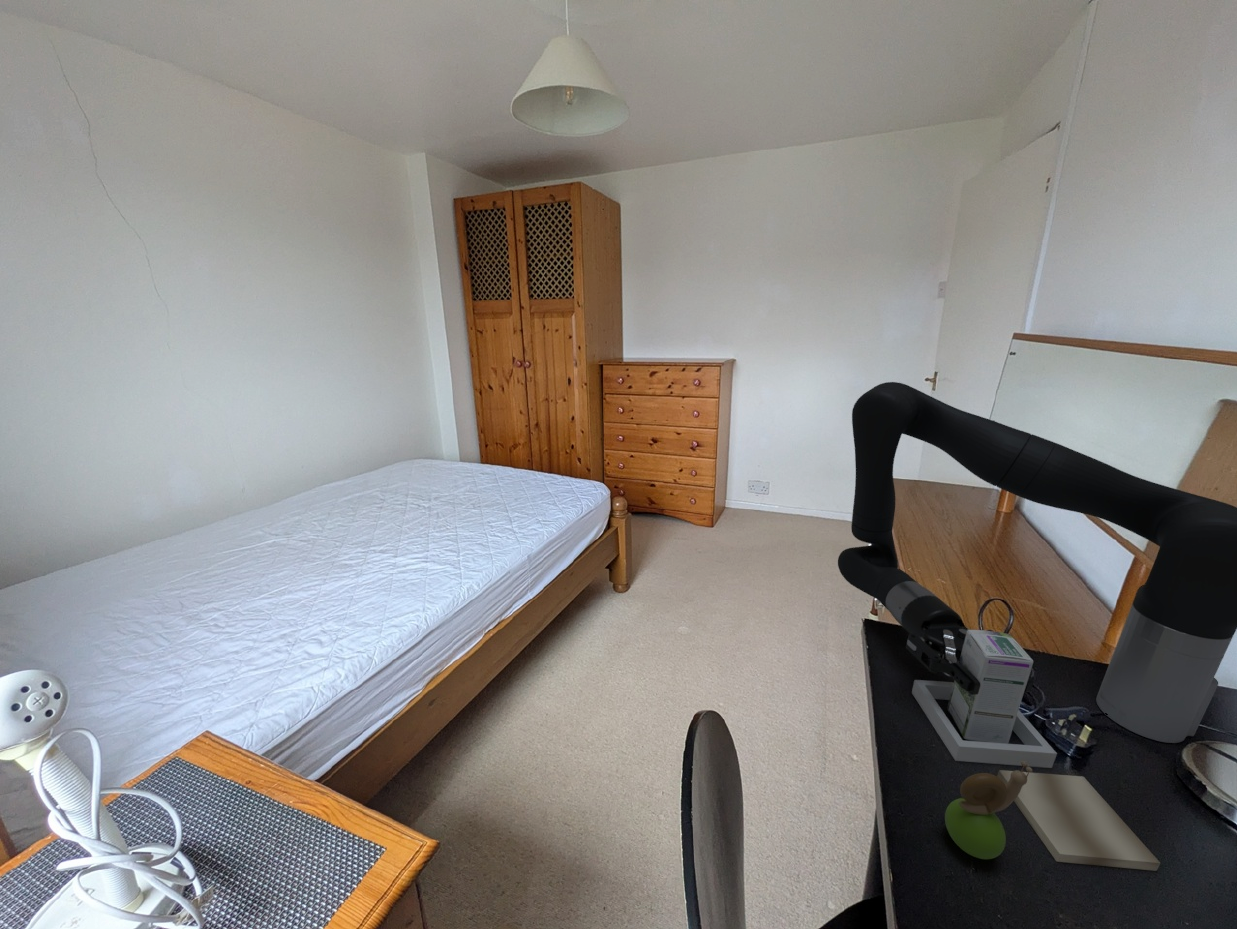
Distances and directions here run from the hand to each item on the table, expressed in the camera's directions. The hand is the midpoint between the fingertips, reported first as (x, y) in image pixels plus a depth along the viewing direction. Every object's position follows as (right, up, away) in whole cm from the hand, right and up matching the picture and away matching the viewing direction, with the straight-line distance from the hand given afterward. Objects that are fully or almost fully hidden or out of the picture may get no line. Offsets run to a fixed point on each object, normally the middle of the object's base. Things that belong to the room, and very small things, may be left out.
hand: (1003, 688), depth 64 cm
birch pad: (+2, -12, -8) cm, 14 cm away
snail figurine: (-12, -13, -10) cm, 20 cm away
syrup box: (0, -8, +5) cm, 9 cm away
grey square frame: (0, -8, +5) cm, 9 cm away
